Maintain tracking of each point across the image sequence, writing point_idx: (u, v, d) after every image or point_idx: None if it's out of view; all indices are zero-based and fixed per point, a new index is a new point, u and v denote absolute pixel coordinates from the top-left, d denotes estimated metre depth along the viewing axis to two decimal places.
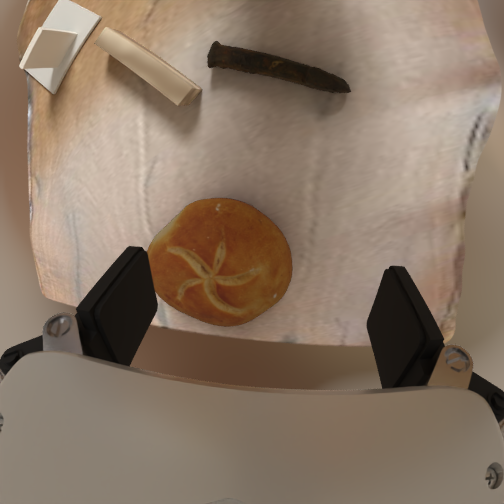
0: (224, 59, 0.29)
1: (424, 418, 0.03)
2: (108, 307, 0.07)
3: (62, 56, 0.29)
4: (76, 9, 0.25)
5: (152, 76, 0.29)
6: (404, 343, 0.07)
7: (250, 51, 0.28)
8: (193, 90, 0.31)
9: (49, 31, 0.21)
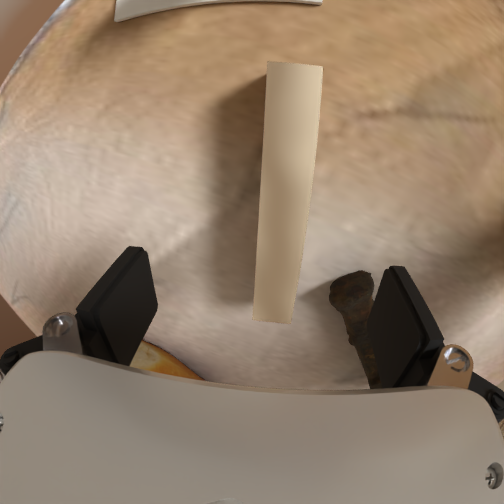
0: (352, 317, 0.22)
1: (424, 418, 0.03)
2: (108, 307, 0.07)
3: None
4: None
5: (270, 261, 0.19)
6: (404, 343, 0.07)
7: None
8: None
9: None
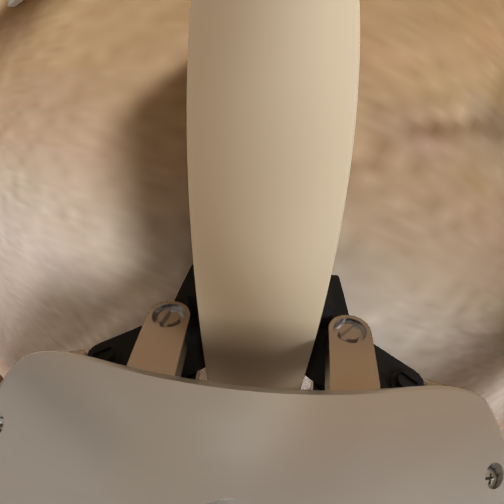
0: None
1: (424, 418, 0.03)
2: None
3: None
4: None
5: None
6: None
7: None
8: None
9: None
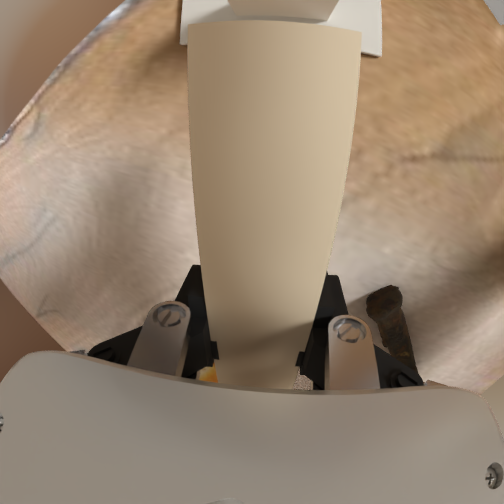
0: (386, 325, 0.25)
1: (424, 418, 0.03)
2: None
3: (266, 14, 0.15)
4: None
5: None
6: None
7: (406, 332, 0.26)
8: None
9: None
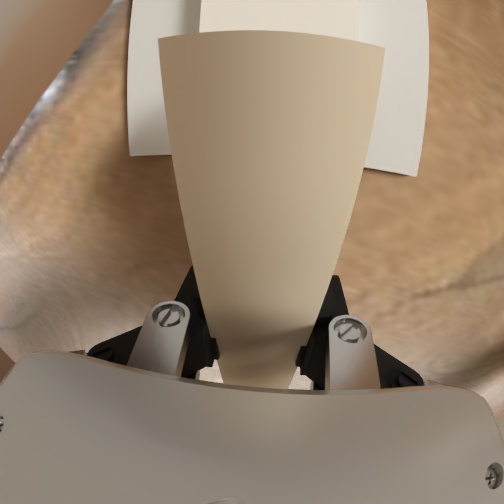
0: None
1: (424, 418, 0.03)
2: None
3: None
4: (415, 56, 0.10)
5: (244, 382, 0.12)
6: None
7: None
8: None
9: None
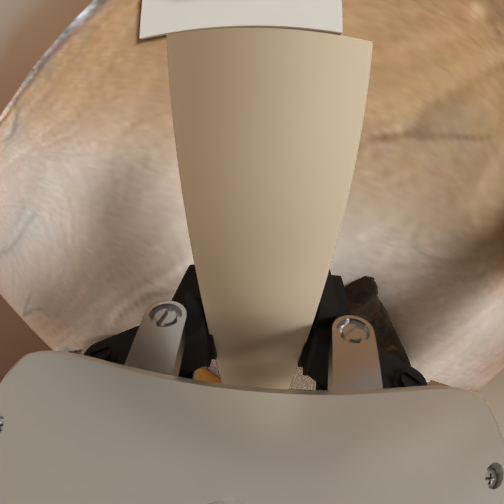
0: None
1: (424, 418, 0.03)
2: None
3: None
4: None
5: (243, 385, 0.11)
6: None
7: (388, 325, 0.25)
8: None
9: None
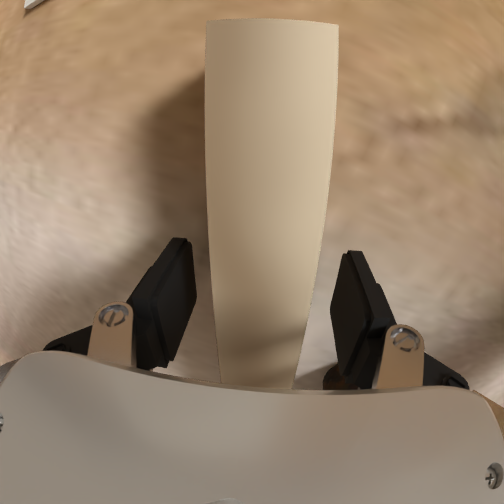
0: None
1: (424, 418, 0.03)
2: (163, 295, 0.08)
3: None
4: None
5: (243, 384, 0.11)
6: (354, 322, 0.08)
7: None
8: None
9: None
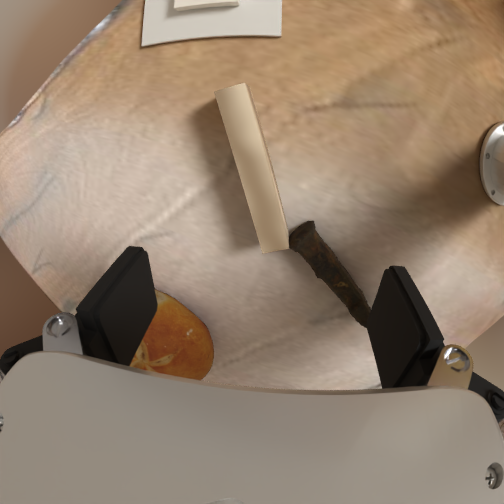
0: (307, 254, 0.32)
1: (424, 418, 0.03)
2: (108, 307, 0.07)
3: (194, 1, 0.20)
4: None
5: (258, 206, 0.29)
6: (404, 343, 0.07)
7: (332, 261, 0.33)
8: None
9: None
